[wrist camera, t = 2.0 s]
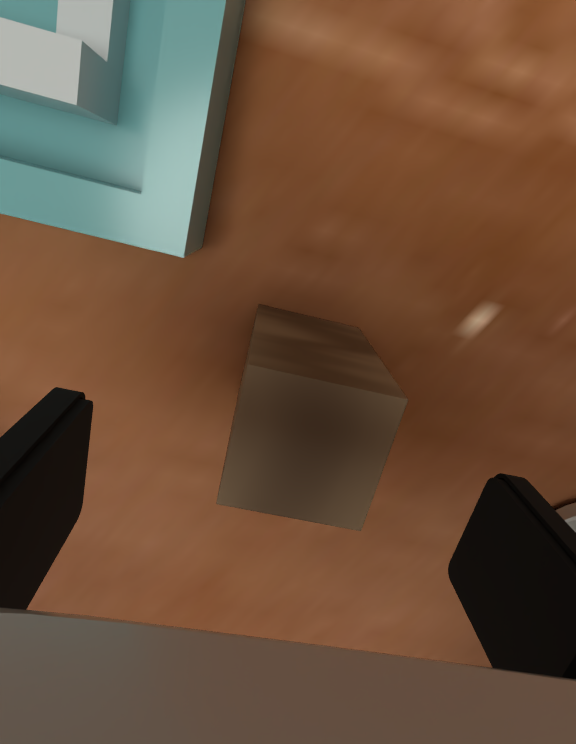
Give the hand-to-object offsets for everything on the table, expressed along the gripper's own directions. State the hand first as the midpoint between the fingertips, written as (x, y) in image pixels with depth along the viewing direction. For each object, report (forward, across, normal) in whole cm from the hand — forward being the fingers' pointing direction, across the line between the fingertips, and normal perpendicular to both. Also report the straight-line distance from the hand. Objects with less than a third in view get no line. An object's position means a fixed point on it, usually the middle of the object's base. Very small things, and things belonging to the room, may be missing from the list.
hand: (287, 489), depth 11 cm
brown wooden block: (+10, -1, 0) cm, 11 cm away
